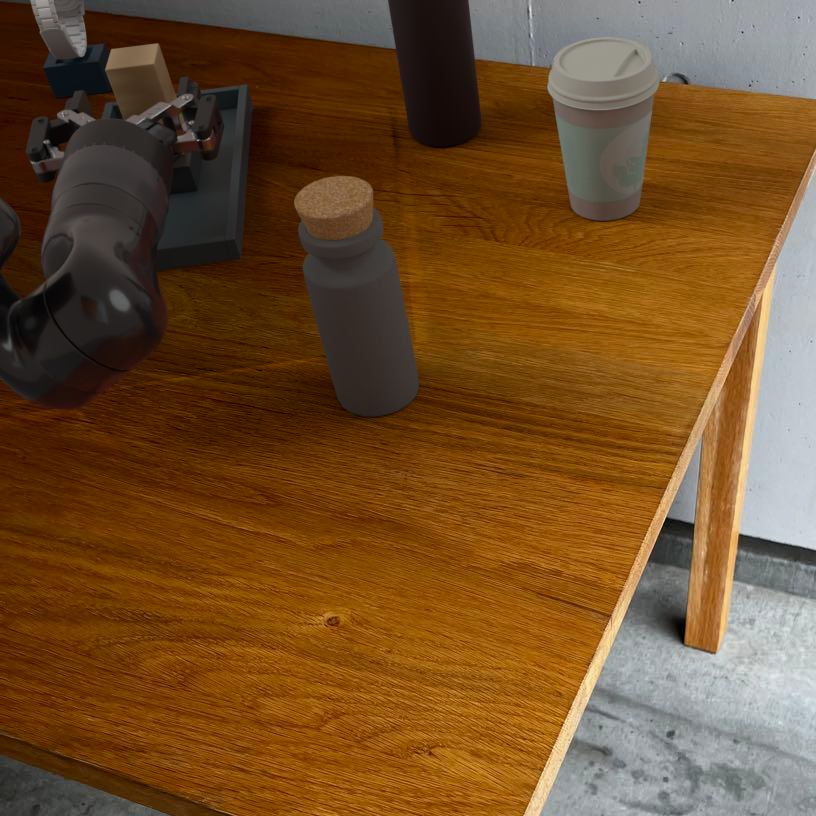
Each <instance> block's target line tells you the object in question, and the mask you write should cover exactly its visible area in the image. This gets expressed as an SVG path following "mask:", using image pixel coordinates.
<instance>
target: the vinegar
mask: <svg viewBox="0 0 816 816" xmlns="http://www.w3.org/2000/svg"><path fill="white" fill-rule="evenodd" d="M387 3H388V9H389V15H390V21H391V27H392V34H393V40H394V46H395V52H396V59H397V65H398V71H399V77H400V83H401V90H402V95H403V103H404V108H405V115H406V121H407V126H408V132H409V134H410V136H411V138H412V139H413V140H415V141H416V142H417V143H420V144H421V145H425V146H428V147H436V148H437V147H438V148H445V147H452V146H453V147H454V146H457V145H462V144H464V143H465V142H466V143H467V142H468V141H470V140H472V139H473V138H474V137H476V136H477V135H478V133H479V132H480V130H481V129H482V113H481V112H482V111H481V102H480V94H479V85H478V84H479V83H478V77H477V76H478V74H477V65H476V55H475V47H474V39H473V29H472V20H471V11H470V10H471V9H470V2H469V0H387Z"/></svg>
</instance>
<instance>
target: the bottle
mask: <svg viewBox="0 0 816 816" xmlns="http://www.w3.org/2000/svg"><path fill="white" fill-rule="evenodd" d="M293 202H294V208H295V211H296V212H297V214H298V216H299V218H300V220H301V221H300V223H299V225H298V229H297V231H298V232H297V233H298V236H299V242H300V244H301V246H302V248H303V250H304V251H305V252H307V255H306V257H305V258H304V260H303V264H302V273H303V278H304V282H305V286H306V290H307V294H308V298H309V301H310V305H311V308H312V312H313V315H314V319H315V322H316V323H315V324H316V327H317V331H318V334H319V337H320V341H321V345H322V349H323V352H324V356H325V359H326V363H327V367H328V370H329V374H330V377H331V380H332V384H333V387H334V391H335V395H336V398H337V401H338V403H339V404H340V405H341V406H342V408H343V409H344V410H346V411H347V412H349V413H351V414H354V415H357V416H361V417H370V418H374V417H383V416H388V415H391V414H394V413H396V412H398V411H400V410H402V409H403V408H405V407H407V406H408V405H409V404H411V402H412V401H414V399H415V398H416V396H417V395H418V392H419V389H420V379H419V372H418V366H417V361H416V357H415V352H414V351H415V350H414V347H413V345H414V344H413V340H412V335H411V331H410V325H409V320H408V315H407V309H406V305H405V300H404V293H403V289H402V284H401V279H400V278H401V277H400V273H399V269H398V265H397V259H396V255H395V252H394V250H393V248H392V246H390V244H389V243H387V242H386V241H385V240H383V239H382V238H383V235H384V222H383V217H382V216H381V213H380V211H378V209H377V208H375V207H374V189H373V187H372V185H371V184H370V183H369V182H367V181H366V180H364V179H362V178H359V177H356V176H348V175H338V176H337V175H336V176H329V177H324V178H321V179H318V180H315V181H313V182H311V183H309V184H307V185H305V186H304V187H303V188H301V189H300V190H299V191H298V192H297V194H296V196H295V197H294V201H293Z"/></svg>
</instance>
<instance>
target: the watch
mask: <svg viewBox="0 0 816 816" xmlns="http://www.w3.org/2000/svg"><path fill="white" fill-rule="evenodd" d="M30 4H31V9H32V12H33V14H34V18H35V21H36V23H37V25H38V28H39V30H40V31H39V34H40V36H41V38H42V39H43V41H44V43H45V45H46V47H47V48H48V51H49V52H48V55H47V57H46V60H45V62H44V63H43V66H42V70H43V72H44V74H45V77H46V79H47V81H48V83H49V86H50V89H51V91H52V93H53V96H54V99H61V98H62V99H63V98H72V97H73V95H74V92H75V91H81V90H84V91H85V93H86V95H87V96H88V95H95V94H104V93H110V92H111V90H112V87H111V84H110V81H109V79H108V76H107V73H106V71H105V69H106V66H107V62H108V59H109V55H110V53H109V50H108V47H107V46H106V43H97V44H88V41H87V40H88V39H87V31H86V24H85V20H84V16H85V15H86V13H85V11H86V10H85V0H30Z"/></svg>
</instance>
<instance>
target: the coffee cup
mask: <svg viewBox="0 0 816 816" xmlns="http://www.w3.org/2000/svg"><path fill="white" fill-rule="evenodd" d="M551 66H552V67H551V69H550V72H549V74H548V82H547V92H548V93H549V95H550V96H551V98H552V102H553V108H554V114H555V120H556V121H555V122H556V126H557V132H558V138H559V146H560V150H561V151H560V152H561V156H562V161H563V169H564V173H565V174H564V175H565V180H566V186H567V191H568V197H569V202H570V207H571V209H572V210H573V212H574V213H576V214H577V215H578V216H580V217H582V218H585V219H588V220H591V221H598V222H599V221H600V222H602V221H603V222H606V221H609V222H610V221H615V220H619V219H622V218H625V217H628V216H630V215H631V214H633V213H634V212H635V211H636V210H637V209H638V208H639V206H640V205H641V204H640V203H641V198H642V191H643V183H644V177H645V168H646V161H647V155H648V154H647V153H648V144H649V138H650V129H651V121H652V115H653V108H654V107H653V106H654V101H655V100H654V99H655V93H656V92H657V90H658V89H659V86H660V77H659V70H658V67H657V66H656V64H655V60H654V57H653V53H652V51H651V50H650V49H649V48H648V47H647V46H646V45H645V44H643V43H641V42H639V41H636V40H633V39H628V38H623V37H613V36H611V37H610V36H605V37H603V36H602V37H591V38H586V39H582V40H578V41H575V42H573V43H570V44H568V45H566V46H564V47H563V48H561V49H560V50H559V51H558V52H557V53H556V54H555V56H554V58H553V61H552V65H551Z"/></svg>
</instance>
